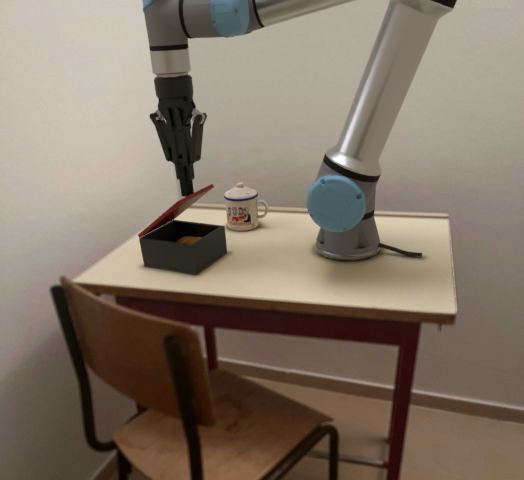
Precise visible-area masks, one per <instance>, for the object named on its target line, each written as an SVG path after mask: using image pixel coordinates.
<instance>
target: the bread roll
mask: <svg viewBox="0 0 524 480" xmlns="http://www.w3.org/2000/svg"><path fill="white" fill-rule="evenodd" d="M201 238H203V237H191V236H186V237H182V238H180V239H179V240H178V241H177V242H178V243H185V244H193V243H195V242H196V241H198V240H199V239H201Z"/></svg>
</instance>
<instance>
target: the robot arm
mask: <svg viewBox="0 0 524 480" xmlns="http://www.w3.org/2000/svg"><path fill="white" fill-rule="evenodd" d="M355 1H357V0H142V13H143V16H144V22H145V27H146V34H147V40H148V46H149V56H150V64H151V72H152V74H153V75H155V77H154V78H153V83H154V90H155V96H156V98H157V99H158V103H157V109H156V110H155V111H154V112H151V113H150V114H149V119H150V121H151V122H152V124H153V126H154V128H155V130H156V134H157V136H158V140H159V142H160V145H161V146H160V147H161V148H162V152H163V155H164V157H165V161H166V162H171V163H172V164H173V165H174V169H175V176H176V180H178V182H179V188H180V195H181V197H183V198H185V197H187V196H189V195H191V194H193V193H195V190H194V182H193V180H195V168H194V164H195V163H197V162H199V161H201V159H202V150H203V149H202V148H203V135H204V125H205V124H206V123H205V122H206V120H207V118H208V115H207V113H206V112H201V111H199V110H198V109H197V106H196V103H195V101H194V86H193V85H194V84H193V76H191V75H190V74H189V73H190V72H191V71H192V68H191V67H192V66H191V58H190V49H189V39H209V38H211V39H212V38H226V39H228V38H234V37H239V36H245V35H248V34H251V33H252V32H254V31H257V30H261V29H264V28H267V27H270V26H274V25H277V24H280V23H284V22H287V21H290V20H291V21H292V20H293V19H297V18H301V17H304V16H307V15H311V14H315V13H318V12H321V11H325V10H328V9H331V8H335V7H338V6H341V5H346V4H349V3H352V2H355ZM388 1H389V2H388V5H387V8H386V10H385V13H384V15H383V19H382V21H381V23H380V26H379V29H378V32H377V35H376V38H375V40H374V42H373V46H372V47H371V50H370V53H369V57H368V59H367V62H366V64H365V66H364V70H363V73H362V76H361V78H360V81H359V82H358V85H357V89H356V91H355V93H354V97H353V99H352V103H351V105H350V108H349V111H348V113H347V116H346V119H345V121H344V124H343V127H342V129H341V131H340V134H339V137H338V140H337V143H336V144H335V145H332V146H331V147H329V148H327V149H326V150H325V152H324V155H323V158H322V160H321V164H320V166H319V169H318V172H317V175H316V177H315V180H314V182H313V183H312V184H311V185H310V186H309V188H308V191H307V196H306V210H307V213H308V214H309V217H310V218H311V220H312V221H313V222H314V224H315V225H317V226H318V227H319V230H318V233H317V237H316V239H315V251H316V252H317V254H318V255H320V256H321V257H324V258H327V259H331V260H336V261H359V260H365V259H369V258H371V257H374V256H375V255H377V254H379V252H380V250H381V249H383V250H387V251H392V252H394V253H396V254H397V253H398V254H400V255H404V256H408V257H416V258H417V257H418V258H422V257H423V252H415V251H407V250H404V249H400V248H399V247H395V246H392V245H389V244H386V243H382V242H381V238H380V234H379V231H378V227H377V223H376V219H375V208H376V191H377V184H378V182H379V180H380V177H381V176H382V174H383V173H382V172H383V169H382V167H381V164H380V158H381V156H382V152H383V151H384V148H385V146H386V144H387V141H388V139H389V137H390V134H391V133H392V132H391V131H392V130H393V127H394V125H395V123H396V120H397V119H398V116H399V113H400V111H401V108H402V106H403V104H404V102H405V99H406V96H407V94H408V92H409V89H410V87H411V85H412V83H413V81H414V78H415V76H416V73H417V71H418V68H419V67H420V64H421V62H422V59H423V57H424V55H425V53H426V50H427V48H428V46H429V43H430V40H431V38H432V36H433V34H434V31H435V29H436V26H437V24H438V22H439V20H440V19H441V18H443V17H445V16H446V15H448V14H449V13H451V12H453V11H454V8H455V6H456V3H457V1H458V0H388Z"/></svg>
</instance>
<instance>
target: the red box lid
mask: <svg viewBox="0 0 524 480" xmlns="http://www.w3.org/2000/svg"><path fill="white" fill-rule="evenodd" d="M214 187H215V186H214V184H213V183H211V184H209V185H207V186H205V187H203V188H201V189H199V190H197V191H194V193H193V194H191V195H189V196H187V197H183V198H181V199H178V200H177V201H176V202H175V203H173V204H172V205H171V206H170V207H169V208H168V209H166V210H165V211H164V212H163V213H162V214H161V215H159V216H158V217H157V218H156V219H155V220H153V221H152V222H151V223H150V224H149V225H148V226H146V227H145V228H144V229H143V230H141V232H139V233H138V234H137V236H138V239H139V238H141V237H143V236H145V235H146V234H148V233H150V232H152V231H154V230H156V229H158V228H159V227H161V226H163V225H165V224H167V223H169V222H170V221H172V220H176V219H177V218H178V217H179V216H180V215H182V214H183V213H184V212H185V211H187V210H188V209H189V208H190V207H191V206H193V205H194V204H195V203H196V202H198V201H199V200H200V199H201V198H202V197H204V196H205V195H207V194H208V193H209V192H210V191H211V190H212V189H214Z"/></svg>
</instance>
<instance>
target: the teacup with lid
mask: <svg viewBox="0 0 524 480" xmlns="http://www.w3.org/2000/svg"><path fill="white" fill-rule="evenodd" d="M235 185H236V186H233V187H232V188H231V189H229V190H227V191H225V192H224V194H223V198H224V201H225V212H226V224H227V228H228V229H230V230H232V231H238V232H246V231H250V230H254V229H256V228H257V227H258V226H259V224H260V223H259V222H260V220H259V219H264V218H265V217H266V216H267V215H268V213H269V208H270V207H269V203H268V202H267V201H266V200H263V199H258V196H259V193H258V191H257V190H256V189H255V188H250V187H248V186H246V185H245V183H244V182H242V181H241V182H237V183H236V184H235ZM258 204H262V205H263V206H264V208H265V211H264V213H263V214H260V215H259V205H258Z"/></svg>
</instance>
